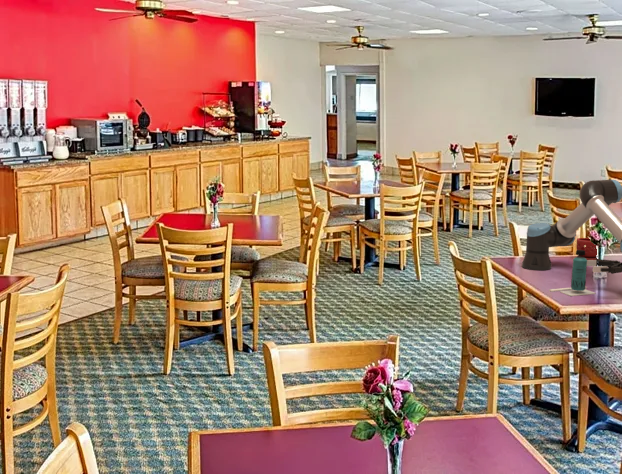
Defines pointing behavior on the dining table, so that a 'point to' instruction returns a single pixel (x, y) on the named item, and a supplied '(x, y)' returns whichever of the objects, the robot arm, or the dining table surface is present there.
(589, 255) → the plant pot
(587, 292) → the mat
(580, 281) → the beverage bottle
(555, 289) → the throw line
